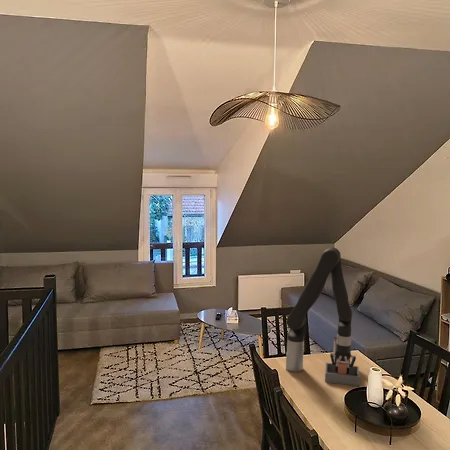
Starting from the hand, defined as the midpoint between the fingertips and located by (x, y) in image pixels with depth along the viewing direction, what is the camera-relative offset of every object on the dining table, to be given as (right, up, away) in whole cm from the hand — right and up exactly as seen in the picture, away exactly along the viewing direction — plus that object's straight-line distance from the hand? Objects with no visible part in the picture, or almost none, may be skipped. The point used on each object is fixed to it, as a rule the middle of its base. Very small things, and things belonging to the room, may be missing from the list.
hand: (341, 372), depth 238 cm
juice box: (0, -1, 0) cm, 1 cm away
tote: (0, -3, 0) cm, 3 cm away
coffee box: (+4, -2, +17) cm, 17 cm away
